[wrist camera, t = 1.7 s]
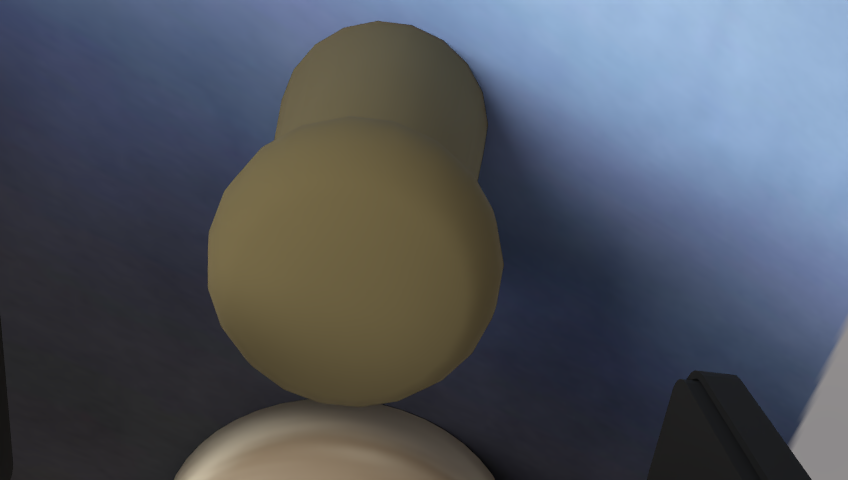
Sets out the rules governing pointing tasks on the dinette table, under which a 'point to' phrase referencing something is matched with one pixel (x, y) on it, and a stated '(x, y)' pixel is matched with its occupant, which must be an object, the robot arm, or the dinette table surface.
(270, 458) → the disc
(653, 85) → the dinette table surface
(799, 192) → the dinette table surface
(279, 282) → the olive pawn
